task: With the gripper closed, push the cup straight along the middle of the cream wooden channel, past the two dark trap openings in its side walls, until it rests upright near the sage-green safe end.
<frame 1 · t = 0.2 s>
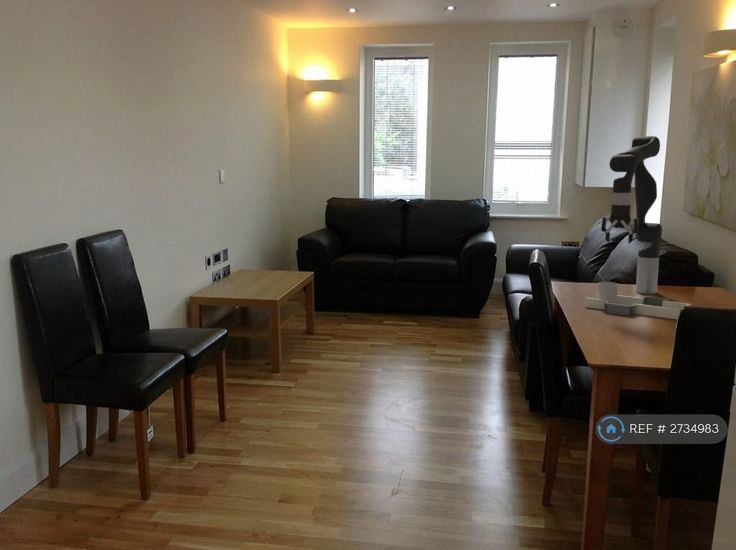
hand: (618, 242, 270), 29 cm above the table, fingers open, 8 cm apart
cup: (607, 306, 281), on the table
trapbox: (633, 309, 274), on the table
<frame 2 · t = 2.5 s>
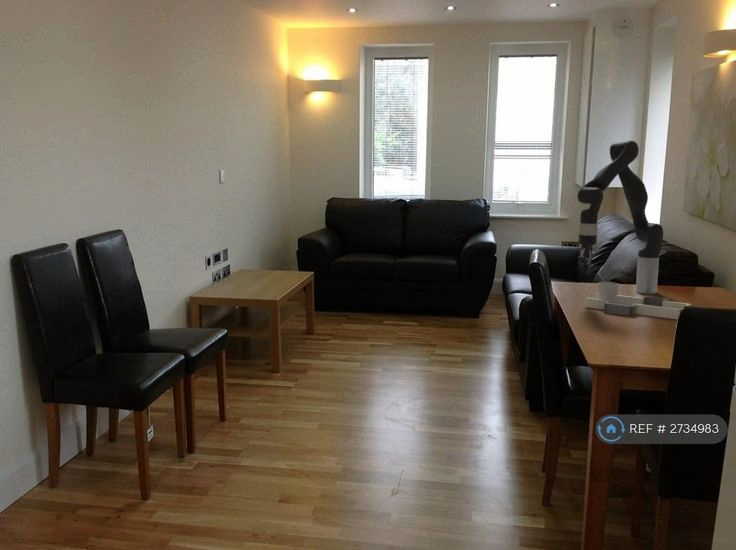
hand: (585, 272, 284), 14 cm above the table, fingers closed
nothing on the table moved.
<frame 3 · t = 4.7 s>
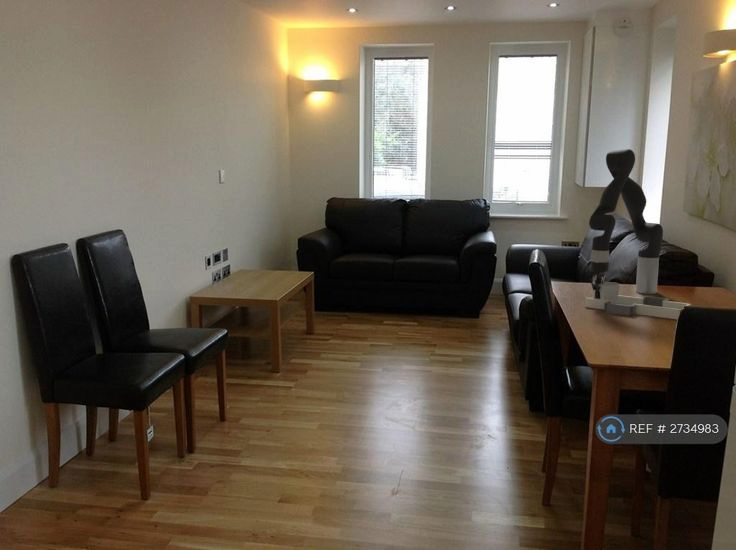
hand: (597, 299, 283), 3 cm above the table, fingers closed
cup: (608, 306, 280), on the table, touching gripper
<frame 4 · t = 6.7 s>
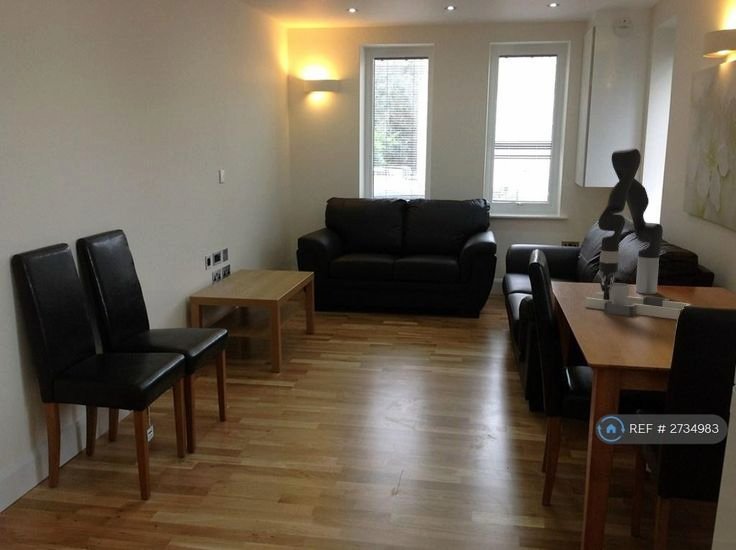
hand: (606, 300, 280), 3 cm above the table, fingers closed
cup: (617, 307, 278), on the table, touching gripper
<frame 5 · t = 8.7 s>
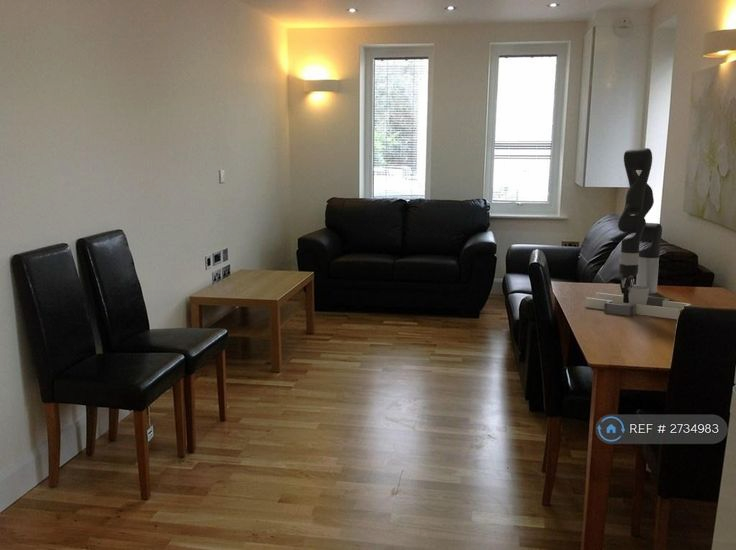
hand: (626, 302, 275), 3 cm above the table, fingers closed
cup: (637, 310, 272), on the table, touching gripper
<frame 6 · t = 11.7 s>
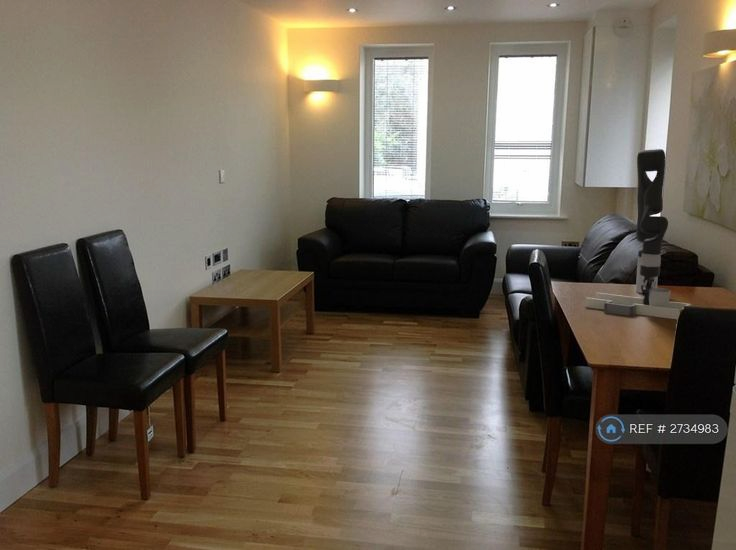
hand: (646, 305, 270), 3 cm above the table, fingers closed
cup: (657, 313, 267), on the table, touching gripper, hand
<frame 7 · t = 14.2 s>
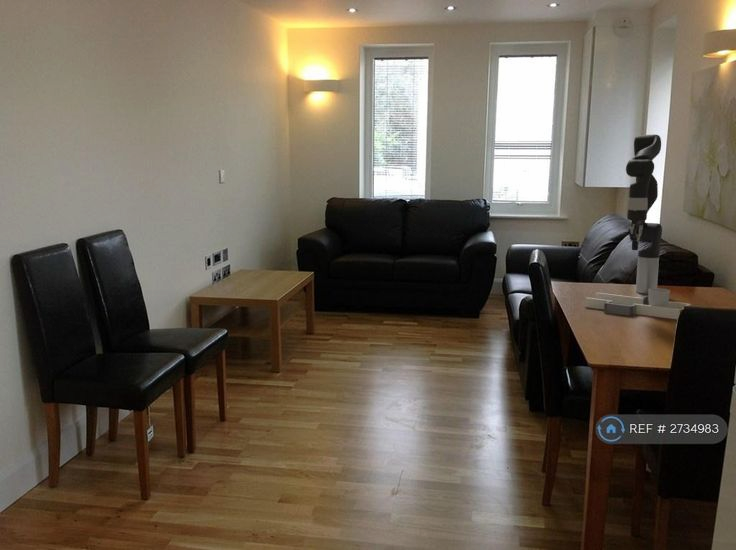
hand: (634, 249, 270), 26 cm above the table, fingers closed
cup: (657, 314, 267), on the table
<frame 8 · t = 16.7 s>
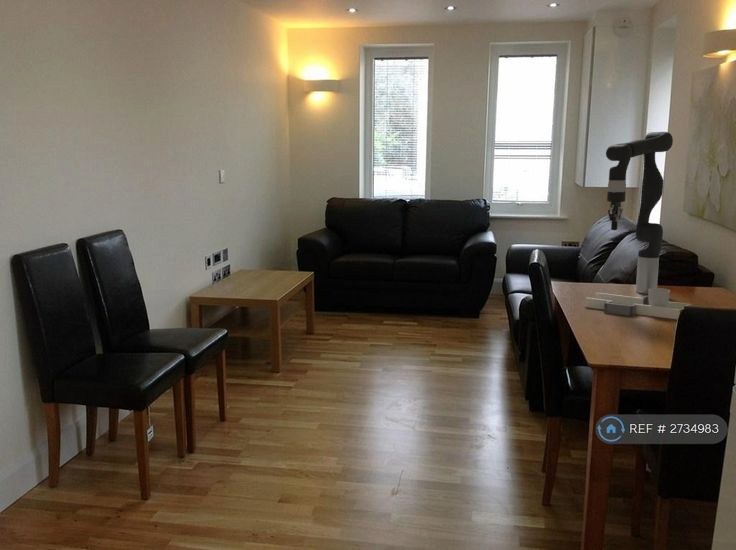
hand: (614, 229, 287), 32 cm above the table, fingers closed
nothing on the table moved.
at the end: cup inside the target area (3.5 cm from its centre), on the table; cup tilted 1°; cup moved 21.1 cm from its start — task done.
